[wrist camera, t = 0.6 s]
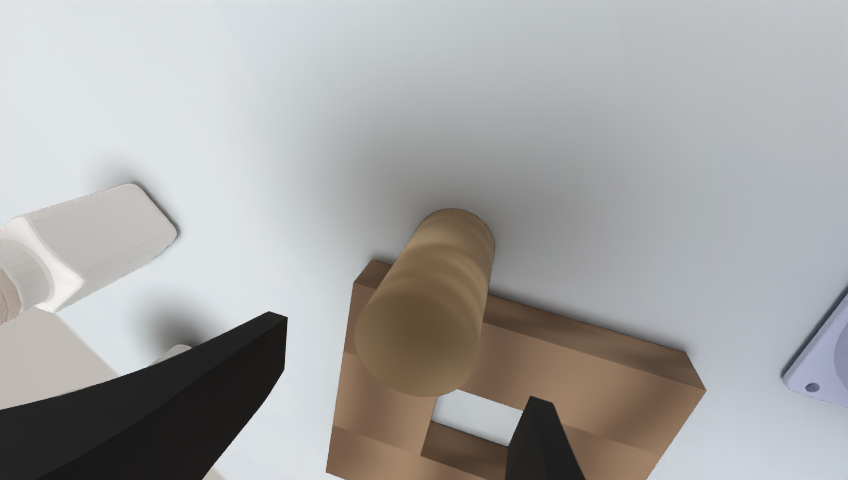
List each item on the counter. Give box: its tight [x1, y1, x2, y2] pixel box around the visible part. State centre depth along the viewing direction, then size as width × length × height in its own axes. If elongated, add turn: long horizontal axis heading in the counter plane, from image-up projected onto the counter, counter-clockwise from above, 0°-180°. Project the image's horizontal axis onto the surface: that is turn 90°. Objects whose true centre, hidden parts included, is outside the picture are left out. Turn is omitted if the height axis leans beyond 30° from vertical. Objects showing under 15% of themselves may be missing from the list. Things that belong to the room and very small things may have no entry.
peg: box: [354, 209, 495, 397], centre depth 17 cm, size 4×4×8 cm
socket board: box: [326, 260, 707, 480], centre depth 22 cm, size 16×14×2 cm
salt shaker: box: [0, 183, 177, 325], centre depth 20 cm, size 4×4×10 cm
